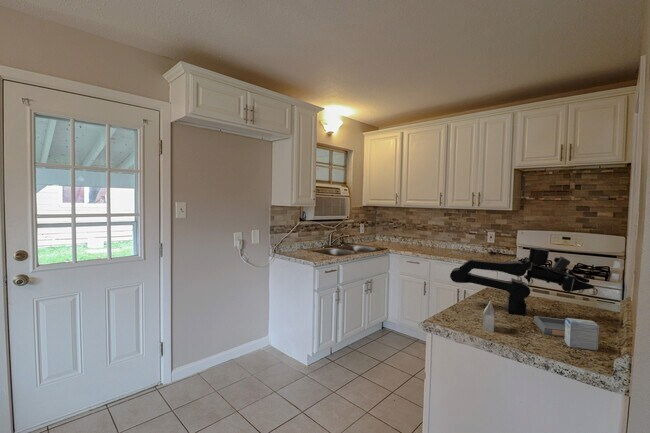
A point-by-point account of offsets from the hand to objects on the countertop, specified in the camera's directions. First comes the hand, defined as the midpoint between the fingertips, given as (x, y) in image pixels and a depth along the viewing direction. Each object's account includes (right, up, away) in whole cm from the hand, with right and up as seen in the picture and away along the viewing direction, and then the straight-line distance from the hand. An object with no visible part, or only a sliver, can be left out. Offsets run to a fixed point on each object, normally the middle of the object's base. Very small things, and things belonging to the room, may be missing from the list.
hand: (591, 284), depth 126 cm
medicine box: (-20, -17, -19) cm, 33 cm away
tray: (-18, -16, -6) cm, 25 cm away
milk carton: (-43, -16, -5) cm, 47 cm away
